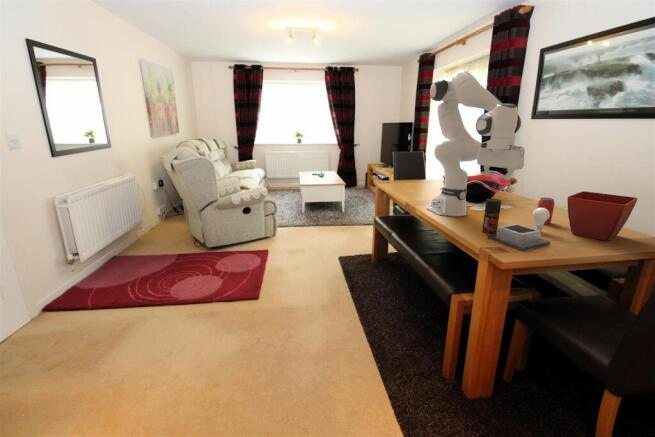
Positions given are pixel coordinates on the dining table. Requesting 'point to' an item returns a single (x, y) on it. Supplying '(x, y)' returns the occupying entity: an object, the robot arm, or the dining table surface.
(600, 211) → the plant pot
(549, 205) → the beer can
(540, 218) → the lightbulb
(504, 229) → the collar holder
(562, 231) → the dining table surface
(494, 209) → the deodorant
